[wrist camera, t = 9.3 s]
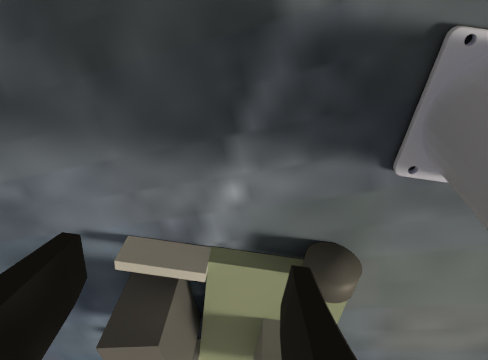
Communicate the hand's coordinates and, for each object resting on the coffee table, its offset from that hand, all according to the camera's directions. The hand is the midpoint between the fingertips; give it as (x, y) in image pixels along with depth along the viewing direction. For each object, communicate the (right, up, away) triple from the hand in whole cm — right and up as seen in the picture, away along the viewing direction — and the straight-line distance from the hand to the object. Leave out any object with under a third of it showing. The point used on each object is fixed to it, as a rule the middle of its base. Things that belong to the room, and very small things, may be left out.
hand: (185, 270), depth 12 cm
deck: (+1, -7, +16) cm, 17 cm away
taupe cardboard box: (-4, -6, +16) cm, 17 cm away
